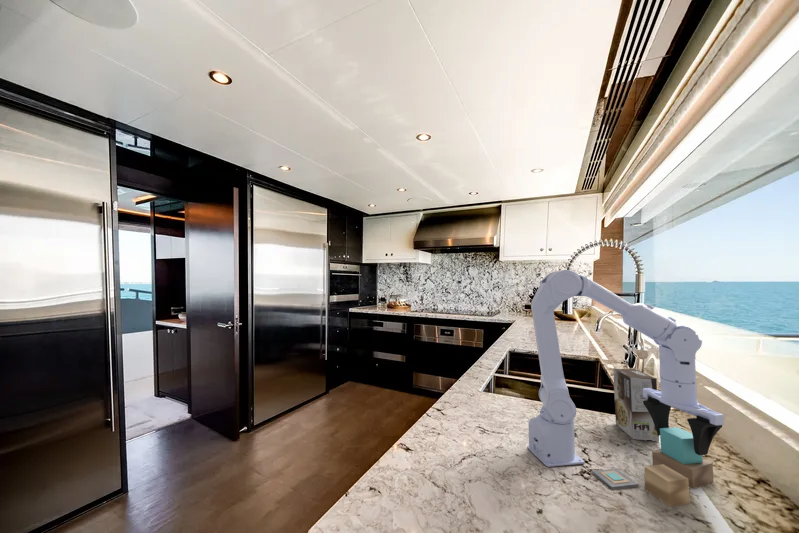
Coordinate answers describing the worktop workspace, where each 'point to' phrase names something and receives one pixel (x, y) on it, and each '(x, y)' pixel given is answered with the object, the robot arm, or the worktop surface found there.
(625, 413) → the coffee box
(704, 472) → the walnut block
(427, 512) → the worktop surface
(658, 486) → the oak block
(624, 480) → the card
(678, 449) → the teal block
